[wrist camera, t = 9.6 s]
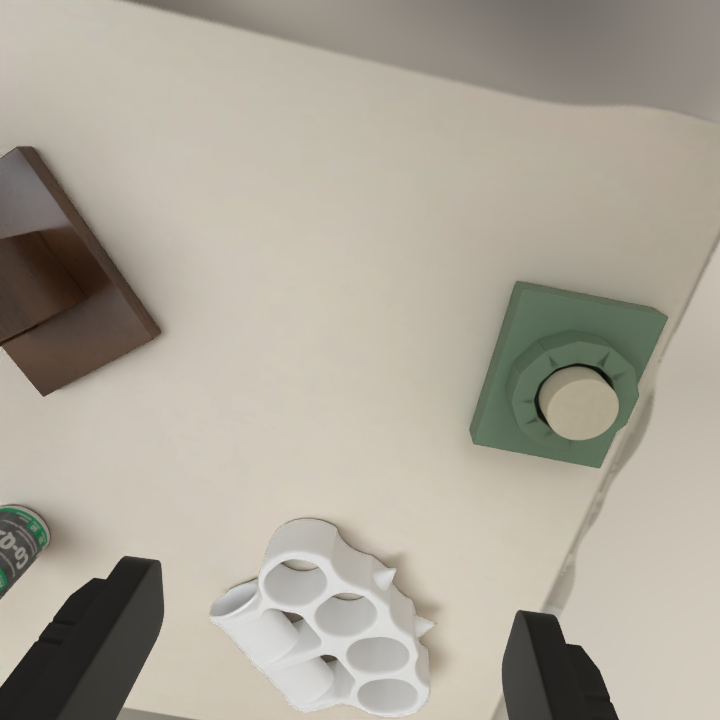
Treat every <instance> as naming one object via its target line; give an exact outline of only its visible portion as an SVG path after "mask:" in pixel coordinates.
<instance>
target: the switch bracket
mask: <svg viewBox="0 0 720 720" xmlns="http://www.w3.org/2000/svg"><path fill="white" fill-rule="evenodd" d="M160 333H161V331H160V329H159V328H158V327H157V325H156V324H155V322H154V321H153V319H152V318H151V317H150V315H149V314H148V312H147V311H146V309H145V308H144V306H143V305H142V304H141V302H140V301H139V299H138V298H137V296H136V295H135V294H134V292H133V291H132V289H131V288H130V286H129V285H128V283H127V282H126V281H125V279H124V278H123V276H122V275H121V273H120V272H119V270H118V269H117V268H116V266H115V265H114V263H113V262H112V260H111V259H110V258H109V256H108V255H107V253H106V252H105V250H104V249H103V247H102V246H101V245H100V243H99V242H98V240H97V239H96V237H95V236H94V235H93V233H92V232H91V230H90V229H89V227H88V226H87V224H86V223H85V222H84V220H83V219H82V217H81V216H80V214H79V213H78V212H77V210H76V209H75V207H74V206H73V204H72V203H71V201H70V200H69V199H68V197H67V196H66V194H65V193H64V191H63V190H62V189H61V187H60V186H59V184H58V183H57V181H56V180H55V178H54V177H53V176H52V174H51V173H50V171H49V170H48V168H47V167H46V166H45V164H44V163H43V161H42V160H41V158H40V157H39V155H38V154H37V153H36V151H35V150H34V148H33V147H19V146H18V147H16V148H14V149H13V150H12V151H10V152H9V153H7V154H6V155H4V156H3V157H2V158H0V347H1V346H2V347H3V349H4V350H5V351H6V352H7V354H8V355H9V356H10V357H11V358H12V360H13V361H14V362H15V363H16V364H17V366H18V367H19V368H20V369H21V371H22V372H23V373H24V374H25V375H26V377H27V378H28V379H29V380H30V381H31V383H32V384H33V385H34V386H35V388H36V389H37V390H38V391H39V392H40V394H41V395H42V396H43V397H44V396H46V395H48V394H50V393H52V392H54V391H56V390H58V389H60V388H61V387H63V386H65V385H67V384H69V383H71V382H73V381H75V380H77V379H79V378H80V377H82V376H84V375H86V374H88V373H90V372H92V371H94V370H96V369H98V368H99V367H101V366H103V365H105V364H107V363H109V362H111V361H113V360H115V359H117V358H118V357H120V356H122V355H124V354H126V353H128V352H130V351H132V350H134V349H136V348H137V347H139V346H141V345H143V344H145V343H147V342H149V341H151V340H153V339H154V338H155V337H157V336H158V335H159V334H160Z"/></svg>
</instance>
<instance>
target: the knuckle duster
mask: <svg viewBox="0 0 720 720" xmlns="http://www.w3.org/2000/svg"><path fill="white" fill-rule="evenodd" d="M291 559H300V560H305V561H309V562H311V563H313V564H315V565H317V566H318V568H316V569H313V570H310V571H297V570H293V569H290V568H288V567H286V566H285V565H283V564H282V563H281V562H283V561H286V560H291ZM396 570H397V568H387V567H386V566H384V565H383V564H382V563H381V562H379V561H378V560H377V559H376V558H374V557H373V556H372V555H368V554H364V553H361V552H359V551H356V550H354V549H353V548H351V547H350V546H348V545H347V544H346V543H345V542H344V541H343V540H342V538H341V537H340V535H339V534H338V531H337V528H336V527H335V526H333V525H332V524H329V523H327V522H324V521H321V520H316V519H298V520H294V521H291V522H288V523H286V524H284V525H282V526H281V527H280V528H278V529H277V530H276V531H275V533H274V534H273V535H272V537H271V539H270V541H269V544H268V547H267V550H266V553H265V556H264V559H263V562H262V566H261V569H260V572H259V576H258V579H255V580H253V581H250V582H248V583H244V584H241V585H239V586H236V587H234V588H233V589H231V590H229V591H228V592H226V593H225V594H223V595H222V596H221V597H220V598H218V599H217V600H216V601H215V602H214V603H213V605H212V606H211V608H210V611H209V615H210V616H211V618H210V620H211V621H212V622H213V623H214V624H215V625H217V626H220V627H221V628H222V629H223V630H224V632H225V633H226V634H227V635H228V636H229V637H230V638H231V639H232V640H233V641H234V642H235V644H236V645H237V646H238V647H239V648H240V649H241V650H242V651H243V652H244V653H245V654H246V655H247V657H248V658H249V659H250V660H251V661H250V663H251V664H252V665H253V666H254V667H255V668H257V669H259V670H260V671H261V672H262V673H263V674H264V675H265V676H266V677H267V678H268V679H269V680H270V681H271V683H272V684H273V685H274V686H275V687H276V688H277V689H278V690H279V691H280V692H281V693H282V694H283V696H284V697H285V698H286V699H287V703H288V704H289V705H290V706H291V707H293V708H295V709H297V710H298V711H301V712H312V711H318V710H322V709H325V708H328V707H331V706H334V705H337V704H343V705H351V706H356V707H358V708H360V709H361V710H363V711H365V712H367V713H369V714H372V715H375V716H379V717H386V718H396V717H403V716H407V715H410V714H413V713H415V712H417V711H418V710H420V709H421V708H422V707H423V706H424V705H425V704H426V703H427V701H428V699H429V696H430V690H431V687H430V671H429V656H428V650H427V648H425V647H424V646H423V645H421V643H420V642H419V637H421V636H422V635H423V634H424V633H426V632H427V631H428V630H429V629H431V628H432V627H433V626H434V625H436V624H437V623H435V622H433V621H430V620H428V619H425V618H422V617H420V616H417V614H416V611H415V608H414V605H413V602H412V600H411V599H410V598H408V597H406V596H404V595H403V594H402V593H400V592H399V591H398V590H397V589H396V587H395V586H394V584H393V582H392V579H393V577H394V575H395V573H396ZM340 593H354V594H358V595H361V596H363V597H362V598H359V599H356V600H341V599H338V598H335V597H333V596H334V595H336V594H340ZM282 611H285V612H290V613H297V614H299V615H301V616H302V617H303V618H304V619H301V620H299V621H296V622H294V623H291V622H290V621H289V620H288V618H287V617H286V616H285V615H284V614H283V613H282ZM321 655H332V656H334V657H336V658H337V659H336V660H333V661H331V662H328V663H325V661H324V660H323V659H322V658H321V657H320V656H321Z"/></svg>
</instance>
